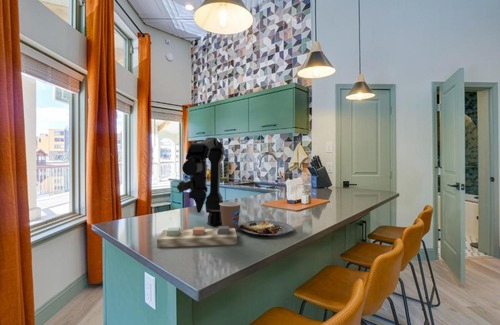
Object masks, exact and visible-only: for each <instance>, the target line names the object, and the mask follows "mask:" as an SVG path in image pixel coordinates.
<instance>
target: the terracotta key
mask: <svg viewBox="0 0 500 325" xmlns="http://www.w3.org/2000/svg"><path fill="white" fill-rule="evenodd" d="M192 229H193V235H205V229H206V228H205V226H193V228H192Z"/></svg>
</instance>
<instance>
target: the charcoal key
mask: <svg viewBox="0 0 500 325" xmlns="http://www.w3.org/2000/svg"><path fill="white" fill-rule="evenodd" d="M217 226H218V227H217V229H218V234H229V226H222V225H217Z"/></svg>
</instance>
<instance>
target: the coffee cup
mask: <svg viewBox="0 0 500 325" xmlns="http://www.w3.org/2000/svg"><path fill="white" fill-rule="evenodd" d="M241 205H242V203H241V202H239V201H238V202H237V201H223V202H222V203H220V210H221V219H222V225H221V226H229V228H235V231H236V230H237V229H238V228H239V222H240V213H241V212H240V211H241Z"/></svg>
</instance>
